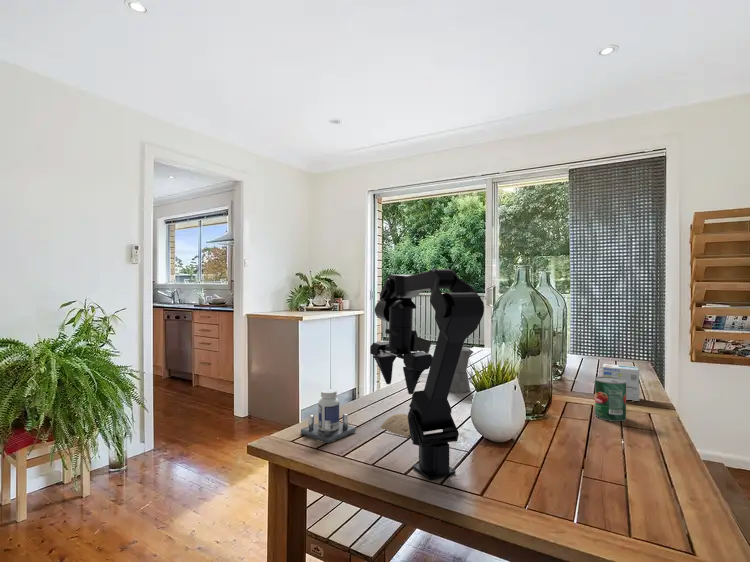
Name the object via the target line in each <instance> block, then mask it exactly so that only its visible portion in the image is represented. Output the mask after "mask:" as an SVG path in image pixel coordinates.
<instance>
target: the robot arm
mask: <svg viewBox="0 0 750 562" xmlns="http://www.w3.org/2000/svg"><path fill="white" fill-rule="evenodd" d="M442 289H443V290H449V292H444V293H442V292H441V290H442ZM426 291H428V292H429V291H430V292H431V293H430V296H429V297H430V298H429V303H430V305H431V307H432V308H433V310H434V311H435V312H434V313H435V315H434V320H435V323H436V325H437V328H438V330H439V333H438V336H437V341H436V343H435V348H434V351H433V355H432V354H431V353H430V348H431V345H432V342H433V341H431V340H427V339H426V338H422V337H419V336H418V332H417V330H416V329H413V317H414V316H413V315H414V313H413V312H414V311H413V310H414V309H417V306H416V304H415V302H414V301H413V300H412V299H413V298H416V297H417V296H419V295H420V293H421V292H426ZM374 314H375V316H376V318H377V319H379V320H381V321H384V322H386V323H388V328H385V334H387V335H388V340H387V341H377V342H373V343H372V344H371V345H370V352H369V354H371V355H372V358H373V359H374V360H375V362H376V364H377V366H378V368H379V370H380V372H381V375H382V378H383V379H384V381H385V384H386V385H391V383H392V377H393V368H394V367H393V366H394V362H395V360H396V359H397V358H398V359H401V360H403V365H404V366H402V370H403V376H404V380H405V384H406V390H407V392H408V395H411V401H410V404H409V406H408V407H409V411H408V412H407V413H408V414H407V416H408V423H409V430H410V435H409V436H410V439H411V441H412V445H415V446H418V463H414V464H413V469H414V470H416V471H417V472H419V473H420V474H422V475H423V476H424V477H426V478H427V479H428V480H431V481H432V480H435V479H439V478H443V477H447V476H450V475H453V474H456V470H455V469H454V468H453V467H451V466H450V443H452V442H455V443H456V442H458V440H459V439H458V438H459V436H460V435H459V433H460V432H459V431H458V428H457V426H456V423H455V420H454V419H453V417H452V407H451V404H450V402H449V400H448V398H449V395H450V392H449V391H450V388H451V384H452V381H453V378H454V374H455V371H456V368H457V364H458V361H459V358H460V354H461V351H462V348H463V347H464V344H465V341H466V339H467V338H468V337H470V336H471V335H472V334H473V333H474V332H475V331H476V330H477V329H478V327H479V325H480V323H481V320H482V318H483V316H484V314H485V303H484V301H483V299H482V298H481V296H479V294H478V292H477V291H476V290H475V288H474V287H473V286H472V285H471V284H469V283H467V282H466V281H464V280H463V279H462V278H460V277H459V275H458V274H457V273H456V272H455V270H452V269H450V268H433V269H430V270H427V271H424V272H419V273H415V274H394V273H393V274H389V275H388V276H387V278H386V279H385V280H384V284H383V287H382V289H381V291H380V292H379V300H378V302H377V303H376V305H375V306H374ZM428 369H429V370H428ZM426 370H428V372H427V373H428V374H427V378H426V381H425V386H424V388H423V389H422V390H416V391H415V389H416V387H417V385H418V382H419V379H420V377H421V375H422V373H423V372H424V371H426ZM440 430H442V431H440ZM434 431H438V432H434ZM426 432H432V433H426ZM424 433H425V434H424Z"/></svg>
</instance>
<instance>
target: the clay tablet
mask: <svg viewBox="0 0 750 562" xmlns="http://www.w3.org/2000/svg"><path fill="white" fill-rule="evenodd" d="M381 428H382V429H381ZM380 429H381V430H383V429H385V430H384V431H386V430H388V431H387V432H390V431H391V432H390V433H392V432H393V434H397V435H400V436H402V437H405V438H408V437H409V436H410V430H409V423H408V414H405V413H397V414H393V415H390V416H389V417H388V418H386V419H385V421H384V422H383V423H382V425H381V426H380Z"/></svg>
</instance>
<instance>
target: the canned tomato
mask: <svg viewBox="0 0 750 562" xmlns="http://www.w3.org/2000/svg"><path fill="white" fill-rule="evenodd" d="M595 415H596V416H597V417H599V418H601V419H600V420H602V419H604V420H603V421H605V420H609V421H608V422H611V421H624V422H626V421H627V401H626V381H625V380H623V379H619V378H614V377H603V376H597V377H594V416H595ZM596 416H595V417H596ZM597 417H596V418H597ZM599 418H598V419H599ZM625 420H626V421H625Z"/></svg>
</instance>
